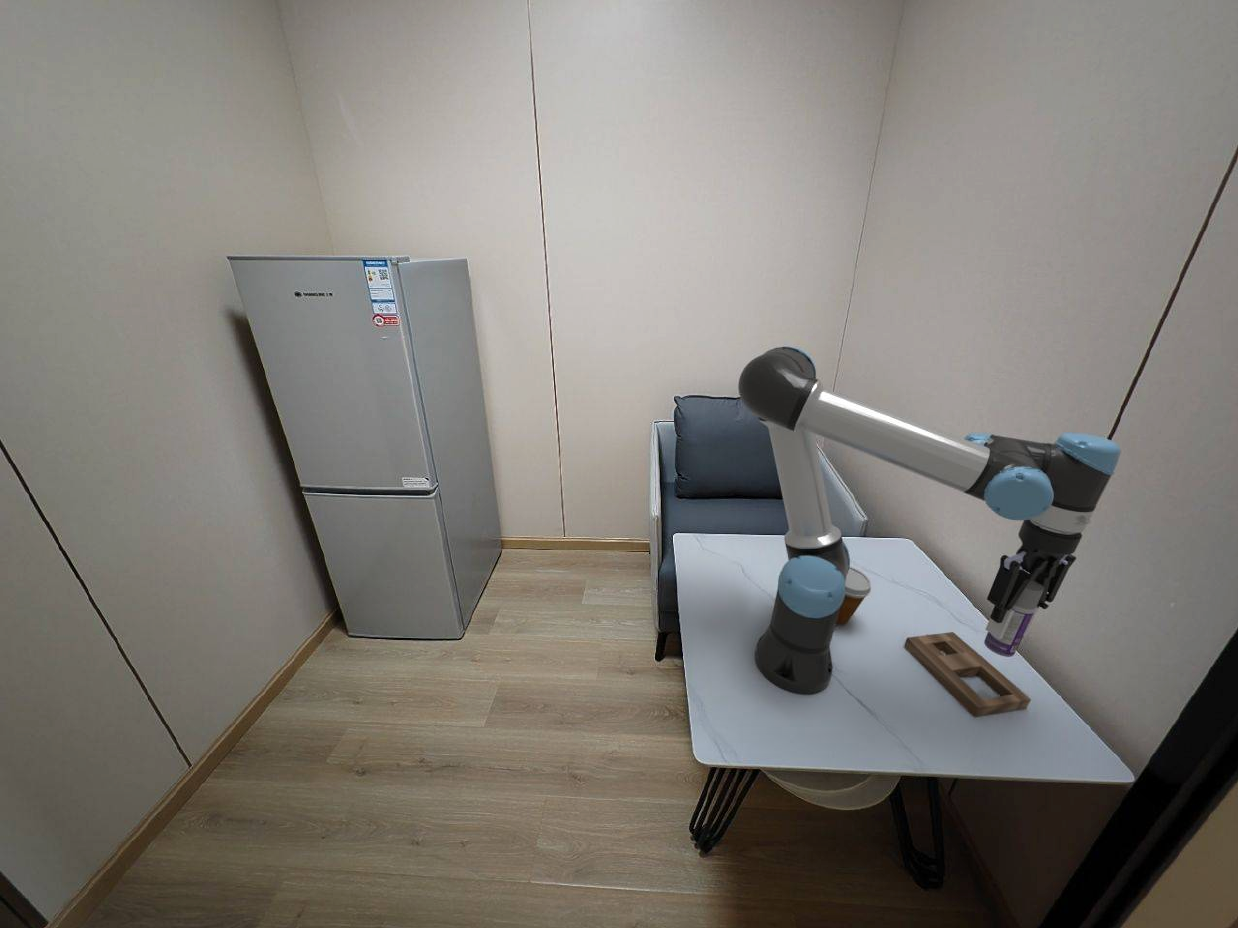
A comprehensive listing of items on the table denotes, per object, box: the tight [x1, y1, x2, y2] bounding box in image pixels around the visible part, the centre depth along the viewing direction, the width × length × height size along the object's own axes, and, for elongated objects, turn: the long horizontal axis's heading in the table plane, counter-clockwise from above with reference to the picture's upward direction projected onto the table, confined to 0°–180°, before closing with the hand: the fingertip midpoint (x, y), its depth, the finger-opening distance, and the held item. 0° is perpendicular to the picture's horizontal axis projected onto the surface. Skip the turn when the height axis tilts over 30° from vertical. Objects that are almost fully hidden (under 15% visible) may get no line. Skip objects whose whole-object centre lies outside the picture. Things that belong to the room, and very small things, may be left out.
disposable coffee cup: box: [835, 566, 872, 627], centre depth 110 cm, size 10×10×12 cm
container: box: [983, 580, 1044, 658], centre depth 86 cm, size 5×5×15 cm
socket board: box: [903, 631, 1032, 718], centre depth 97 cm, size 12×18×2 cm, turn 11°
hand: (1005, 632), depth 88 cm, fingers closed on container, 5 cm apart
